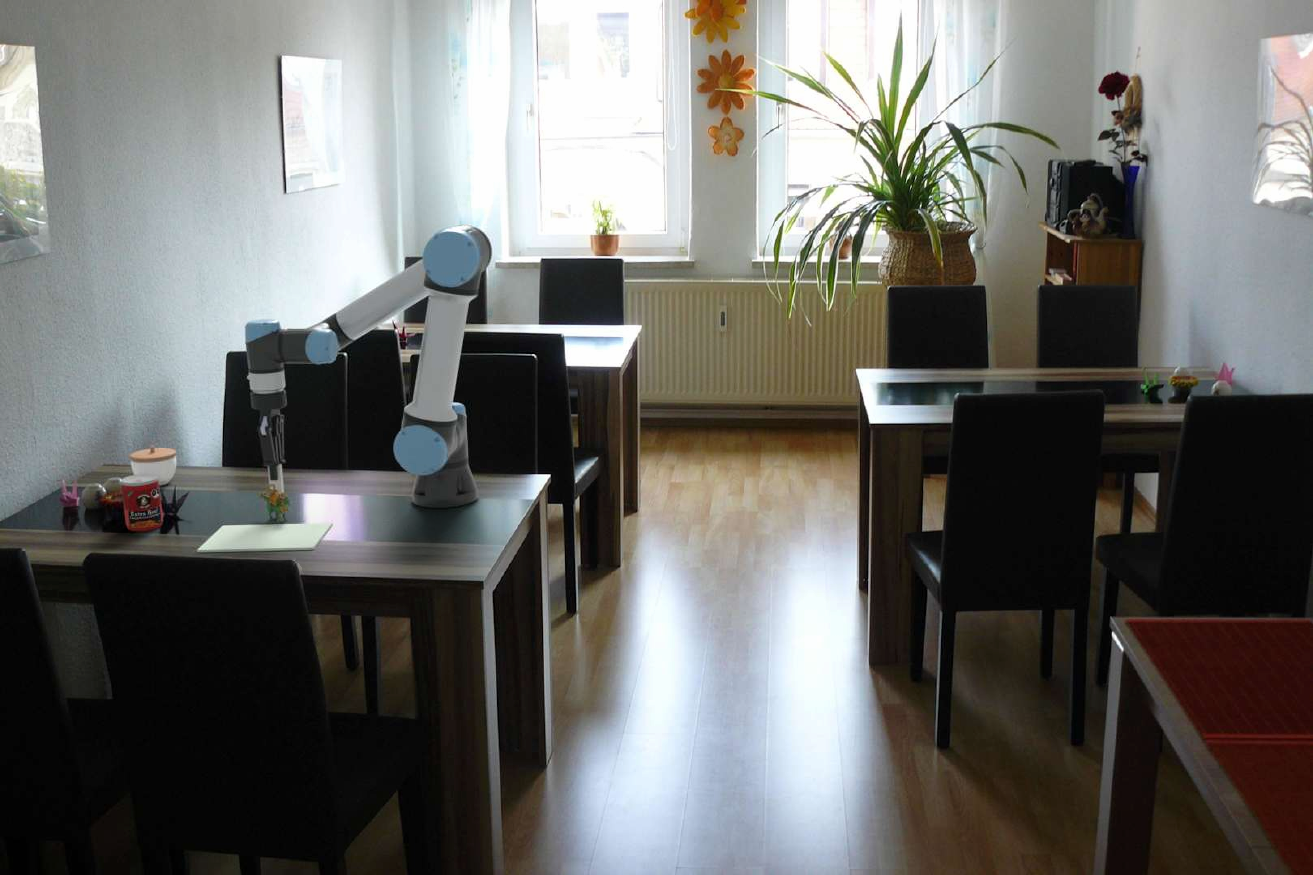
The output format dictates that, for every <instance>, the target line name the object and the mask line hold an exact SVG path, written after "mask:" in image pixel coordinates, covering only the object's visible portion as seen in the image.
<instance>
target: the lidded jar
mask: <svg viewBox="0 0 1313 875" xmlns="http://www.w3.org/2000/svg"><path fill="white" fill-rule="evenodd" d="M129 461H130V465H131V466H130V467H131V469H132V470H131V471H132V472H133V475H138V474H154V475H157V476H158V480H159V487H160V486H163V485H167V484H169V483H170V481H171V479H172V478H173V477H174V475H175V474H176V470H177V451H176V450H175V449H173V448H170V447H167V448H166V447H155V446H154V445H151V446H150V447H149V448H145V449H141V450H137V451H135V452H134V451H133V452H132V453H130V454H129Z"/></svg>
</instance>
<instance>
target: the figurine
mask: <svg viewBox="0 0 1313 875" xmlns="http://www.w3.org/2000/svg"><path fill="white" fill-rule="evenodd" d="M268 485H269V484H268ZM271 486H273V487H274V490H271V489H270V487H271ZM268 490H269V491H268V492H260V493H259V494H258V497H260V498H261V499H263V500H264V501H266V510H267V512H268V517H269V520H270V521H271V522H272V521H274V520H275V519H276V520H278V524H281V523H283V521H285V522H287V521H288V519H286V514H285V513H286V511H287V512H292V510H291V509H289V508H288V507H290V506H291V503H290V498H289V496H288V495H287V494H286V495H285V493H284V492H282V493H281V494H279V493H278V490H275V485H274V484H270V485H269V486H268ZM272 491H273V492H272ZM267 493H268V495H267ZM276 493H278V494H276ZM273 512H274V513H275V518H273V516H272V513H273ZM280 514H282V516H280ZM281 518H283V521H281Z"/></svg>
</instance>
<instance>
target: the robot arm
mask: <svg viewBox="0 0 1313 875" xmlns="http://www.w3.org/2000/svg"><path fill="white" fill-rule="evenodd" d="M492 256H493V247H492V243H491V241H490V239H489V237H488V235H486V233H485V232H484V231H482V230H481V229H480V228H479V227H476V226H474V225H472V224H471V225H469V224H460V225H455V226H454V227H447V228H442V229H440V230H439V231H437V232H436V233H434V235H433V236H431V238H430V239H429V240H428V241H427V243H426V244H425V245H424V249H423V252H422V259H419V260H418V261H417V262H415V263H413V264H411V266H409V267H407V268H405V269H404V270H402V271H401V272H398V273H397V274H396V275H394V276H392V277H390V279H388V280H386V281H384V282H383V283H381V284H380V285H378V286H376V287H375V288H373V289H372V290H370V291H368V292H367V293H365V294H364V295H362V296H360V297H359V298H357V299H356V300H354V301H352V302H351V303H349V304H347V305H346V306H344V307H343V308H341V309H339V310H337V312H335V313H333V314H331V315H329V316H328V317H327V318H325V319H323V320H321V321H320V322H318V323H316V324H313V325H310V326H309V327H306V328H300V329H296V328H295V329H293V328H292V329H285V328H282V326H281V324H280V321H279V320H277V319H271V318H263V319H255V320H254V319H253V320H251V321H248V322H247V323H245V327H244V332H245V333H244V337H245V341H244V343H245V350H246V358H247V359H246V360H247V367H248V370H247V371H248V375H247V377H246V379H247V380H249V389H250V390H251V392H250V403H251V408H252V409H254V410H256V411H259V413H260V417H259V419H258V420H259V421H258V422H259V425H260V426H259V425H258V426H257V427H256V432H257V433H258V437H259V443H260V448H261V453H262V454H261V455H262V460H263V467H267V473H268V485H270V484H274V485H275V490H278V493H279V494H280V495H281V493H282V492H283V493H284V492H285V490H284V489H285V486H284V476H283V465H282V464H286V459H284V458H285V436H284V434H285V433H284V431H285V430H284V428H285V427H284V424H285V415H284V414H281V410H280V409H283V408H285V407H286V406H287V405H288V401H287V392H286V390H285V387H286V377H285V376H286V374H285V368H284V364H298V365H299V364H301V365H302V364H309V365H311V364H312V365H313V364H315V365H322V364H331V363H333V362H335V361H336V359H337V357H338V354H339V353H338V352H339V351H342V350H343V349H345V347H347V346H348V345H350V344H352V343H353V342H354V341H356V340H357V339H359V338H361V337H362V336H364V335H365V334H368V333H369V332H370V331H372V330H374V329H376V328H378V327H379V326H380V325H382V324H385V322H388V320H390V319H392V318H393V317H394V318H395V316H397V315H399V314H400V313H402V312H404V311H405V310H407V309H408V308H411V307H412V306H413V305H415V304H416V303H419V301H422V300H424V299H425V298H427V297H428V300H427V308H426V313H425V320H424V326H423V327H424V328H423V332H422V340H421V345H420V352H419V358H418V364H417V365H418V366H417V369H416V370H417V372H416V378H415V384H414V390H413V397H412V401H411V402H410V403H409V404H408V405H406V406H404V409H403V417H402V420H401V428H400V431H398V433H397V434H396V436H395V438H394V442H393V454H394V457H395V460H396V462H397V463H398V464H399V465H400V467H402V468H403V470H405V471H406V472H408V473H410V474H412V475H416V476H415V479H414V483H413V488H412V491H411V498H412V499H411V500H412V503H413V504H414V505H416V506H419V507H422V508H431V509H447V508H456V507H461V506H465V505H469V504H471V503H474V502H475V501H476V500H477V499H478V498H479V493H478V492H479V491H478V486H477V483H476V481H475V479H474V476H473V474H472V473H473V472H472V471H471V468H470V465H469V448H468V446H469V445H468V432H467V429H468V428H467V418H468V417H467V414H466V407H465V405H464V404H463V403H460V402H454V396H455V391H456V385H457V378H458V371H459V368H460V360H461V356H462V355H461V353H462V349H463V348H462V347H463V340H464V336H465V330H466V329H465V328H466V325H467V324H466V323H467V318H468V317H467V316H468V311H469V304H470V302H471V301H472V300H474V299H475V298H477V297H478V294H479V289H480V282H481V275H482V273H483V272H485V271H486V270H487V268H489V265H490V263H491V260H492ZM270 489H271V490H274V487H273V486H271V487H270ZM272 492H273V491H272ZM278 493H276V495H278Z"/></svg>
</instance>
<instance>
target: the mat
mask: <svg viewBox="0 0 1313 875" xmlns="http://www.w3.org/2000/svg"><path fill="white" fill-rule="evenodd" d="M333 526H334V525H333V522H321V523H320V522H319V523H318V522H317V523H286V524H285V523H278V524H277V523H276V524H275V523H274V524H272V523H271V524H235V525H233V524H231V525H227V524H226V525H222V526H221V527H219V529H217V530H216V532H214V533H213V534H212V535H211V536H210V537H209V538H208V539H206V541H205V542H204V543H203V544H202V545H201V546H199V547H198V549H197V550H196V552H197V553H217V552H218V553H224V552H267V551H268V552H273V551H275V552H276V551H306V550H307V551H311V550H312V551H313V550H315V549H316V547H317V546H318V545H319V544H320V542H321V541H322V540H323V539H324V537H325V536H326V535H327V533H328V532H329V531H330V530H331V528H332V527H333Z"/></svg>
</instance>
